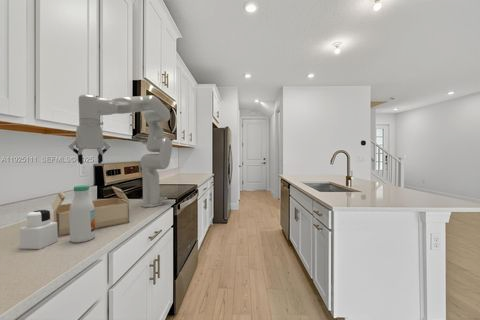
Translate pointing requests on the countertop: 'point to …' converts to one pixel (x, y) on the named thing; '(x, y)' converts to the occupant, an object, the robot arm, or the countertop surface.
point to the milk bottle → (81, 216)
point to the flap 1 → (58, 201)
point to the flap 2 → (120, 193)
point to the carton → (105, 214)
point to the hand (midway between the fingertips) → (90, 163)
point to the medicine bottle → (38, 231)
